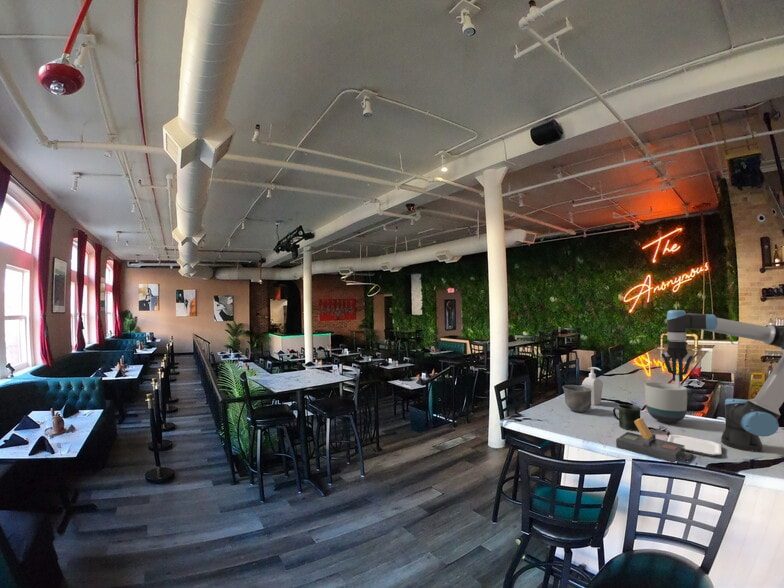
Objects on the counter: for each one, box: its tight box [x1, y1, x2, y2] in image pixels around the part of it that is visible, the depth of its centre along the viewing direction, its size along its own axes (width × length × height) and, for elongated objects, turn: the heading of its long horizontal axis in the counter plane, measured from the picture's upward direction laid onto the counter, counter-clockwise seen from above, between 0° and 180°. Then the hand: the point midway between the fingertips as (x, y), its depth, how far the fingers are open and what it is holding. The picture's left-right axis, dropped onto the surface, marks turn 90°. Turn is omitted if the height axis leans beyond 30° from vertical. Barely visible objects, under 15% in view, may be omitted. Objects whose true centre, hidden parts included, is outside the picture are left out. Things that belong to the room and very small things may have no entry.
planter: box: [644, 381, 688, 424], centre depth 222 cm, size 20×20×21 cm
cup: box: [562, 384, 592, 413], centre depth 245 cm, size 18×18×15 cm
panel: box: [615, 431, 686, 463], centre depth 179 cm, size 24×16×7 cm, turn 40°
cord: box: [685, 453, 694, 463], centre depth 169 cm, size 1×10×1 cm, turn 131°
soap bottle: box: [581, 366, 604, 406], centre depth 261 cm, size 12×10×26 cm
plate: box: [666, 434, 723, 457], centre depth 183 cm, size 21×21×2 cm
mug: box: [612, 404, 642, 432], centre depth 212 cm, size 11×15×12 cm
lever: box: [634, 417, 654, 442], centre depth 181 cm, size 2×8×11 cm, turn 131°
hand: (678, 387), depth 184 cm, fingers closed
